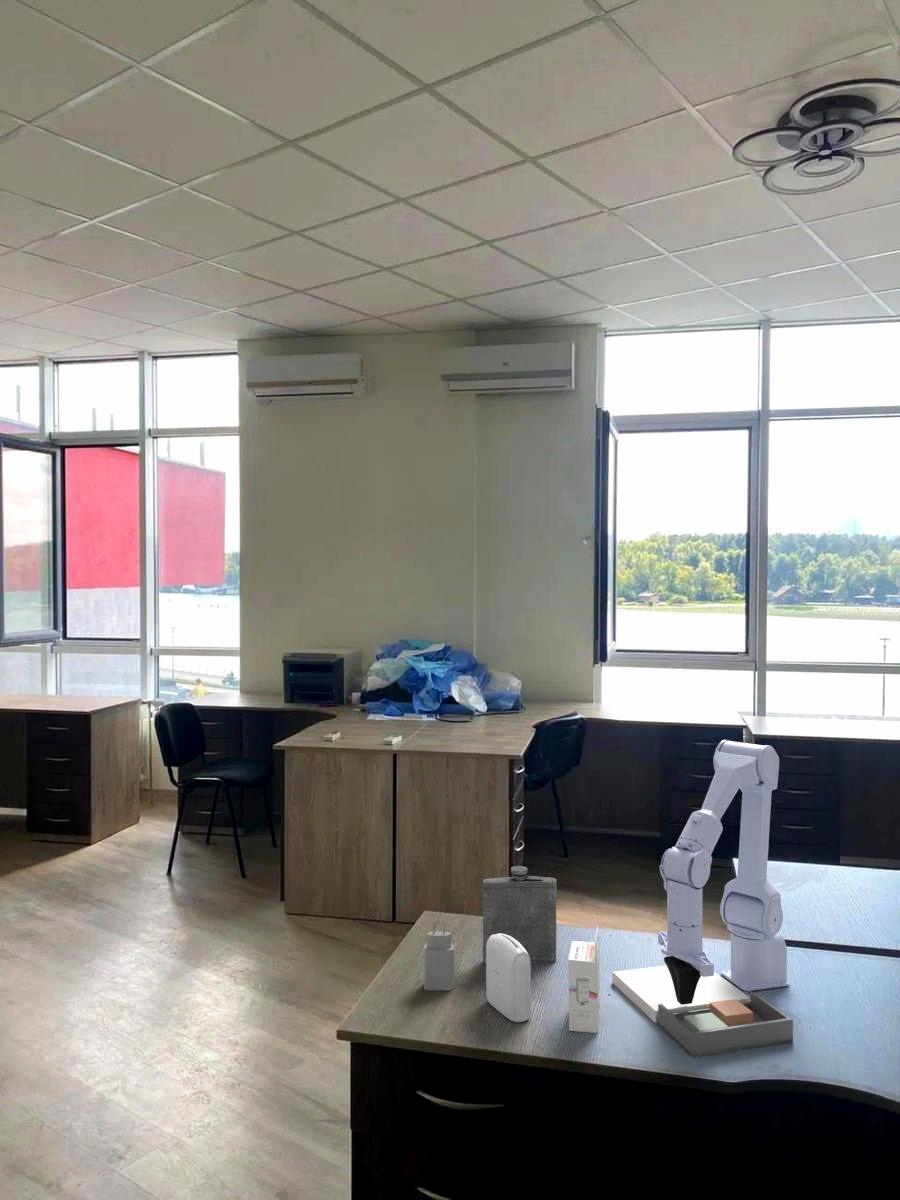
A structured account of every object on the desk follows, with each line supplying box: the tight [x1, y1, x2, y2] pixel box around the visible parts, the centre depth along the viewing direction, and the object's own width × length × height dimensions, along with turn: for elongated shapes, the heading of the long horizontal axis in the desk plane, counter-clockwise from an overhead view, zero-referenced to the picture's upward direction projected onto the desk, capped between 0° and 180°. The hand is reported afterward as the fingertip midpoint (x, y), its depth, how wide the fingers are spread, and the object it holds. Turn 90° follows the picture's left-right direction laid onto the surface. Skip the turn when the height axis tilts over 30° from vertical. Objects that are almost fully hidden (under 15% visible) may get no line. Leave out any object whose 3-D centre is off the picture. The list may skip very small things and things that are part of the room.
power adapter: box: [423, 919, 455, 991], centre depth 160 cm, size 3×5×12 cm, turn 91°
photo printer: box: [485, 933, 532, 1023], centre depth 151 cm, size 10×4×12 cm, turn 26°
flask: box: [482, 865, 557, 965], centre depth 171 cm, size 4×14×18 cm, turn 94°
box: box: [655, 991, 794, 1058], centre depth 143 cm, size 18×11×4 cm, turn 106°
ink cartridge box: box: [567, 925, 601, 1034], centre depth 147 cm, size 9×5×15 cm, turn 168°
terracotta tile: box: [709, 999, 753, 1027], centre depth 146 cm, size 5×5×2 cm
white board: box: [612, 964, 750, 1024], centre depth 156 cm, size 18×16×2 cm
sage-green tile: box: [684, 1013, 728, 1032], centre depth 141 cm, size 5×5×2 cm
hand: (684, 1002), depth 148 cm, fingers closed
